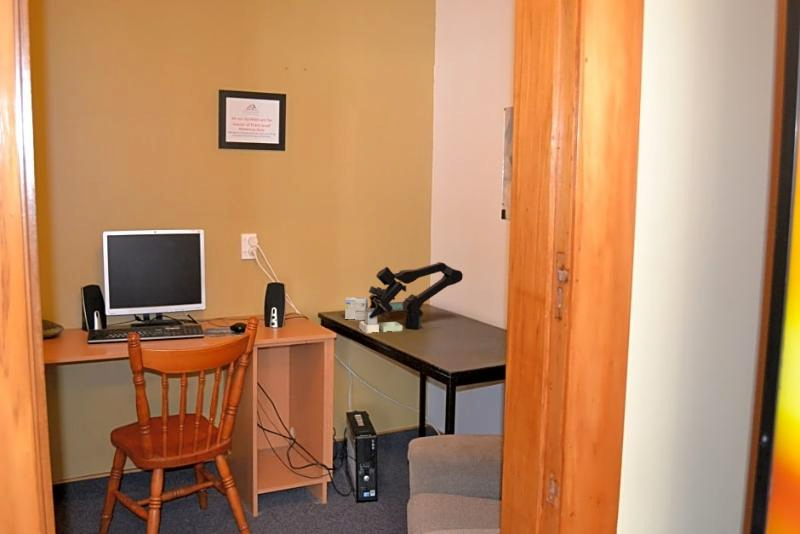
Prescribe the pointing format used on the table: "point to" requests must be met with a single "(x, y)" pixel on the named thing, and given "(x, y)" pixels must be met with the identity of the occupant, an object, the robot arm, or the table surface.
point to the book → (395, 311)
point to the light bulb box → (355, 308)
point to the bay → (368, 327)
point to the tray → (390, 326)
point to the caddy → (367, 319)
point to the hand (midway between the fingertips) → (368, 316)
